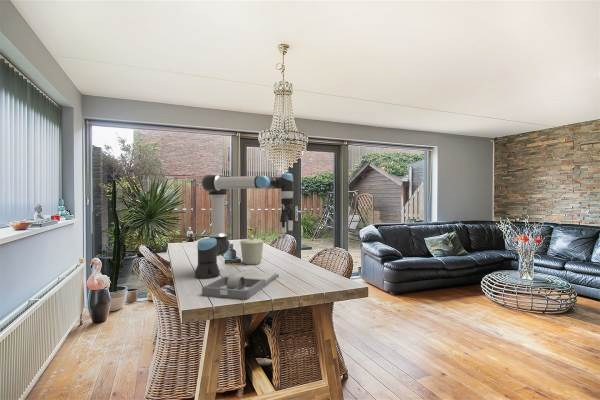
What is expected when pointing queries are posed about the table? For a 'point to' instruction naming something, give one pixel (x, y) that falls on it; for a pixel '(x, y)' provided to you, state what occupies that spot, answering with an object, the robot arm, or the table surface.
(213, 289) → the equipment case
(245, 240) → the canister
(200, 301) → the table surface
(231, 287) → the ceramic mug
